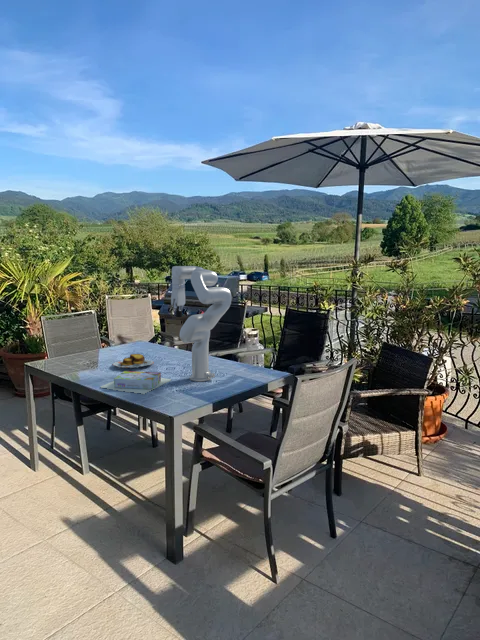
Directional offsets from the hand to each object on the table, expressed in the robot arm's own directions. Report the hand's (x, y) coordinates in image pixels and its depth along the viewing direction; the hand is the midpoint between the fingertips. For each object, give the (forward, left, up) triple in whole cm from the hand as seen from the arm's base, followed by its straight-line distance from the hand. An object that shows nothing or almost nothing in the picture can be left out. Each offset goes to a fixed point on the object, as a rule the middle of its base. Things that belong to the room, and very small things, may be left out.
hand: (179, 317), depth 258 cm
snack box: (+7, +29, -30) cm, 42 cm away
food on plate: (+32, +3, -34) cm, 47 cm away
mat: (+8, +34, -33) cm, 48 cm away
